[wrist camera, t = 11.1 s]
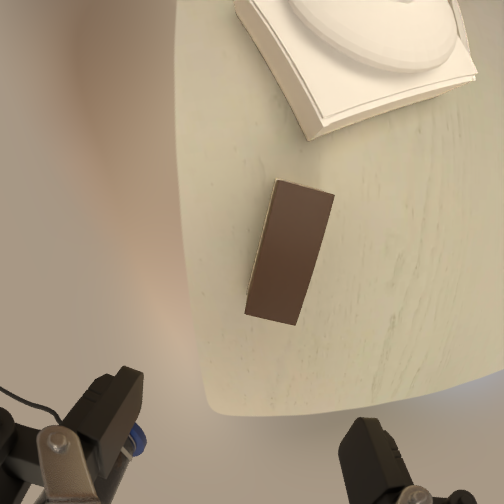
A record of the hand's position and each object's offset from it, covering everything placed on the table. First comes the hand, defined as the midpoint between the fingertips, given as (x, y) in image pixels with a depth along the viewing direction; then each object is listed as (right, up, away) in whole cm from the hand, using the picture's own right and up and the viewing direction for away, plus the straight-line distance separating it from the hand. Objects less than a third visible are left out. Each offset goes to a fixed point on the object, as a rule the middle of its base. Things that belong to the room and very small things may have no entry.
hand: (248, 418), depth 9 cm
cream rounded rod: (+27, +35, +13) cm, 46 cm away
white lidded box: (+10, +28, +16) cm, 34 cm away
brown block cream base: (+3, +7, +21) cm, 22 cm away
